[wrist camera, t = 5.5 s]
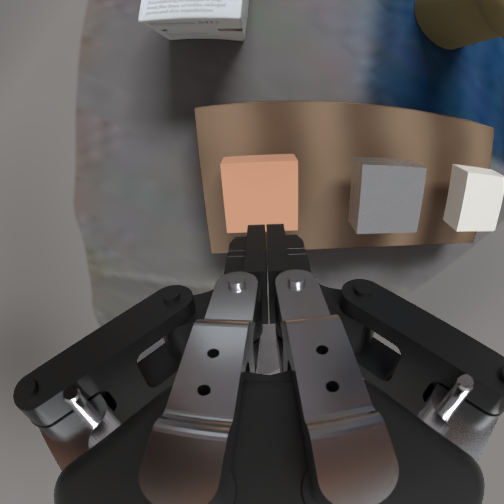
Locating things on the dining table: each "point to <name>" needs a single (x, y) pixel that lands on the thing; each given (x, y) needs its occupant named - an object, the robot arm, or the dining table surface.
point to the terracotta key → (260, 191)
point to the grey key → (385, 195)
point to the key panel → (339, 162)
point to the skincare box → (196, 18)
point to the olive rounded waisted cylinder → (460, 21)
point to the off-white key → (473, 198)
